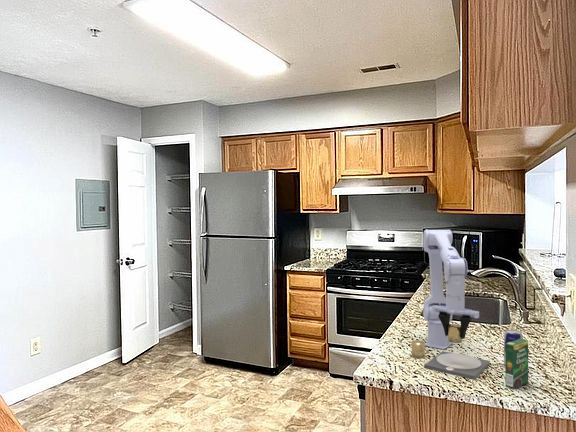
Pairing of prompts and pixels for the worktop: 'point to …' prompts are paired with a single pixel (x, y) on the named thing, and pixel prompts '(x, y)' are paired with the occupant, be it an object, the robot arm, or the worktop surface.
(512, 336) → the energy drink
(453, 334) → the golden domed cylinder
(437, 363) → the kitchen scale
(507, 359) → the green carton
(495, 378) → the worktop surface
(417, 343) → the tan rounded cylinder
